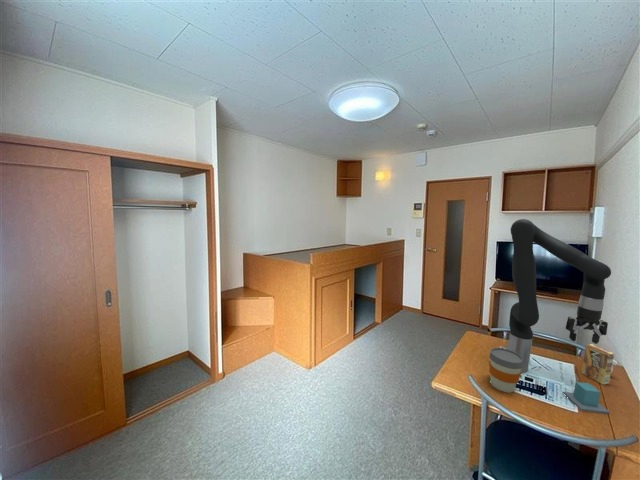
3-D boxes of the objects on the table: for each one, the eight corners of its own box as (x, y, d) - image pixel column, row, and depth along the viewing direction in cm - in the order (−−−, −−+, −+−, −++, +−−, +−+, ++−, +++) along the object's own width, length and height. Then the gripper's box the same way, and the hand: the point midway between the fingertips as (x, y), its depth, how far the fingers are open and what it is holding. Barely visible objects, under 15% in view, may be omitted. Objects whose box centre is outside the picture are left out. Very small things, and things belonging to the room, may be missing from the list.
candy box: (609, 383, 126) (615, 353, 124) (602, 385, 125) (608, 354, 123) (587, 372, 135) (592, 343, 132) (580, 373, 134) (585, 344, 131)
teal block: (583, 404, 110) (585, 390, 109) (573, 396, 115) (575, 381, 115) (597, 406, 110) (600, 391, 109) (586, 397, 115) (589, 383, 114)
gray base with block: (581, 410, 108) (583, 396, 108) (562, 393, 118) (564, 380, 117) (609, 414, 107) (612, 399, 106) (588, 396, 117) (590, 383, 116)
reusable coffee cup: (479, 380, 126) (483, 350, 124) (497, 374, 131) (501, 345, 129) (507, 398, 114) (512, 365, 112) (525, 391, 119) (530, 359, 117)
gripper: (578, 308, 115) (571, 343, 117) (616, 312, 113) (609, 348, 115) (565, 302, 122) (559, 335, 124) (601, 305, 120) (594, 339, 122)
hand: (583, 341), depth 120 cm, fingers open, 8 cm apart
